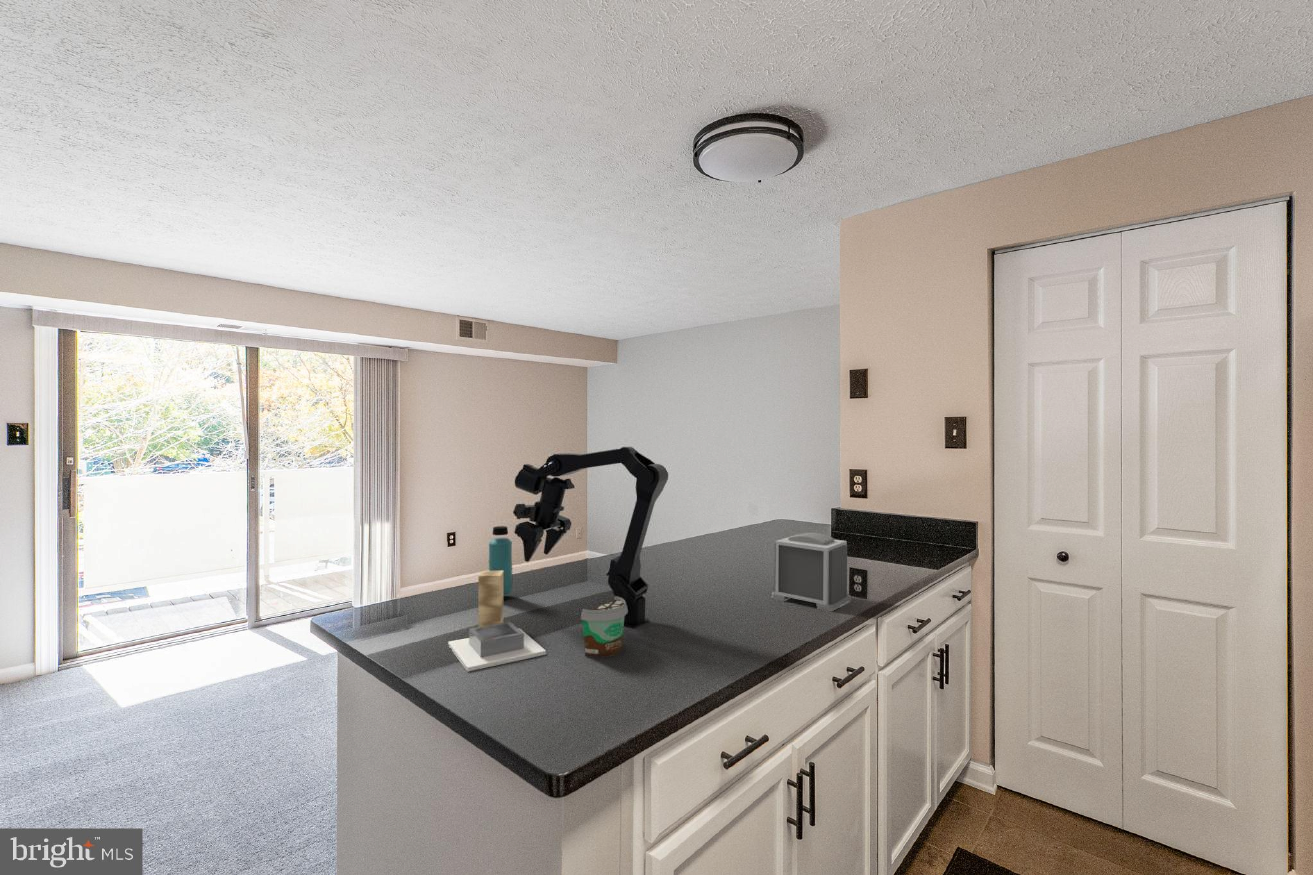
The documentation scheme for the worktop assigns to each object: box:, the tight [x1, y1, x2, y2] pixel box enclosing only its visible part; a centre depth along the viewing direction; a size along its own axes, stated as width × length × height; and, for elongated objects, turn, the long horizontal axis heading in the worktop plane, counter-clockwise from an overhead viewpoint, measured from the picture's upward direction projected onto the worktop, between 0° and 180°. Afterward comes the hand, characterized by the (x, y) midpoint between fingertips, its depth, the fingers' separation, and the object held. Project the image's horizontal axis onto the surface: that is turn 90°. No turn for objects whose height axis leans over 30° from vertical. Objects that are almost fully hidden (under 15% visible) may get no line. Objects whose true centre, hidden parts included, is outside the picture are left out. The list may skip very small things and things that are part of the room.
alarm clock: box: [771, 532, 852, 608], centre depth 159 cm, size 18×13×18 cm
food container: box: [580, 596, 628, 658], centre depth 121 cm, size 12×6×10 cm, turn 148°
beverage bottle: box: [488, 525, 514, 596], centre depth 159 cm, size 6×7×20 cm
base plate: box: [447, 627, 547, 673], centre depth 121 cm, size 16×16×1 cm
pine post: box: [477, 570, 504, 627], centre depth 135 cm, size 5×5×13 cm
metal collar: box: [468, 621, 524, 658], centre depth 121 cm, size 9×9×3 cm
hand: (536, 557), depth 148 cm, fingers open, 9 cm apart
